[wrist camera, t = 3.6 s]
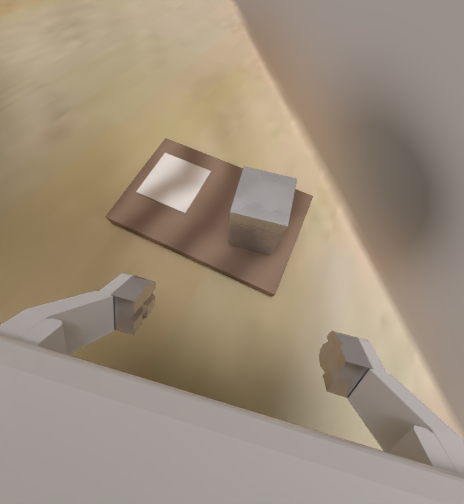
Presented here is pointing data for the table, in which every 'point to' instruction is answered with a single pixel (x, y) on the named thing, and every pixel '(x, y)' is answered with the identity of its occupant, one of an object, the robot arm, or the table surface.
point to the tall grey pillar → (260, 210)
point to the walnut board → (201, 214)
